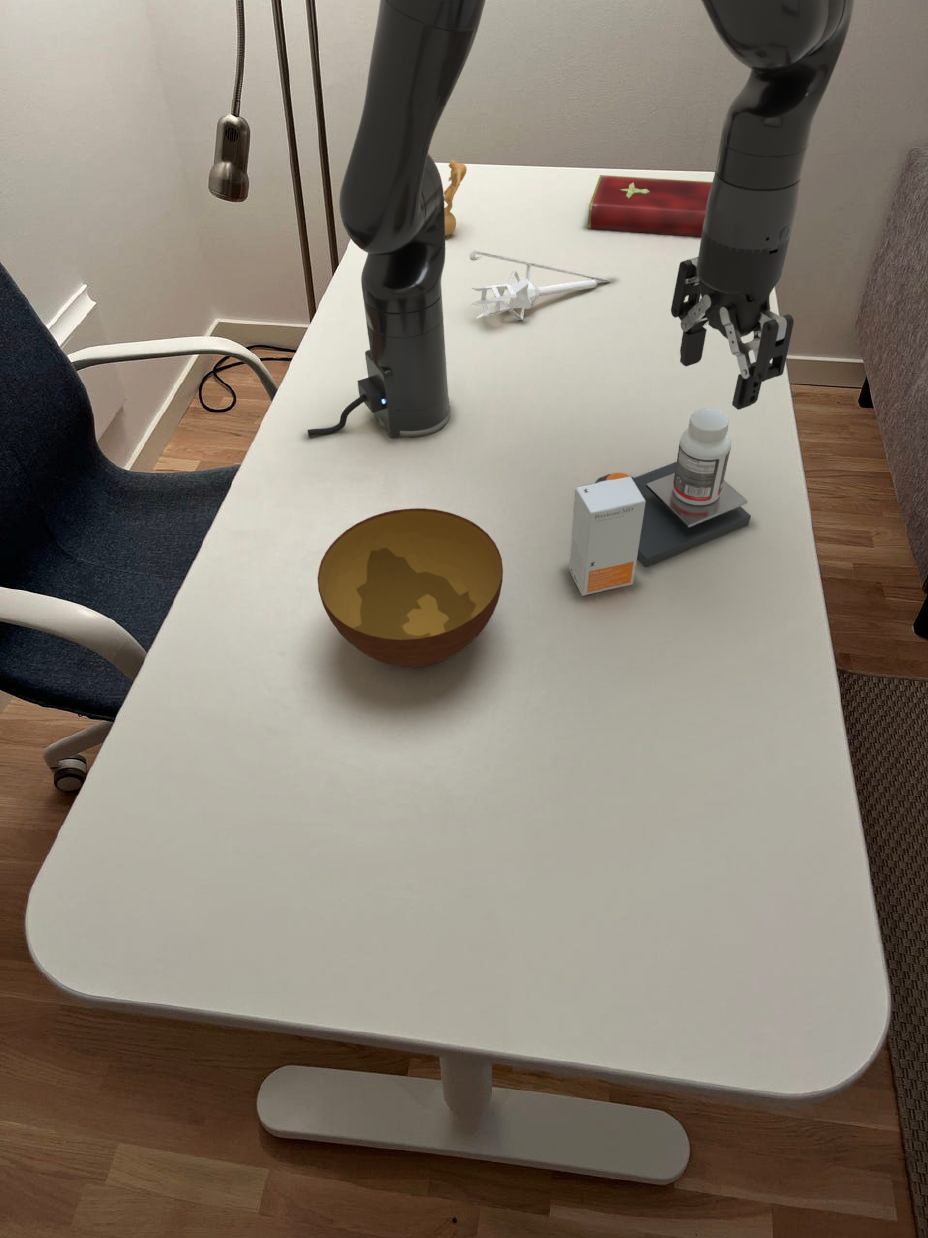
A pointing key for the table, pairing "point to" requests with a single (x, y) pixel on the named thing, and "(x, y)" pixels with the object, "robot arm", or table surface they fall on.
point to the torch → (526, 288)
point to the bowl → (411, 585)
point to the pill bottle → (702, 458)
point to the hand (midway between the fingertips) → (715, 383)
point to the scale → (675, 523)
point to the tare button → (616, 476)
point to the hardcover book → (649, 205)
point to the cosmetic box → (606, 535)
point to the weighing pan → (695, 512)
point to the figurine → (452, 194)
